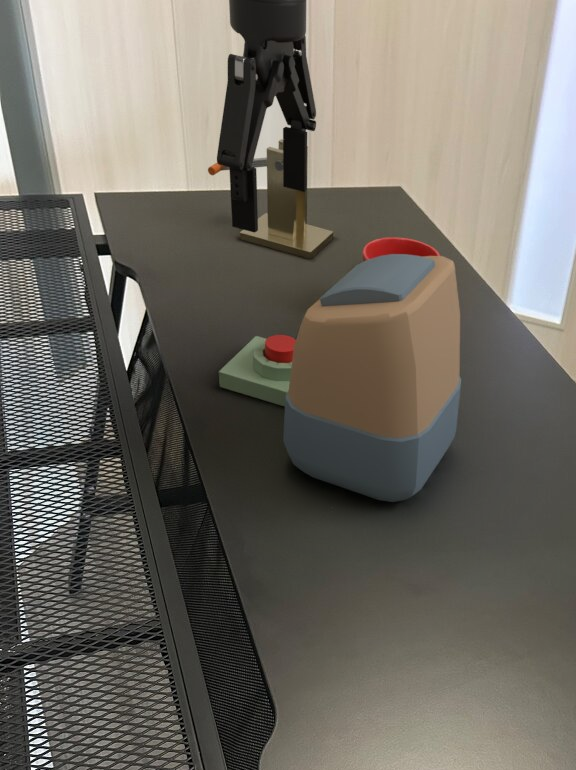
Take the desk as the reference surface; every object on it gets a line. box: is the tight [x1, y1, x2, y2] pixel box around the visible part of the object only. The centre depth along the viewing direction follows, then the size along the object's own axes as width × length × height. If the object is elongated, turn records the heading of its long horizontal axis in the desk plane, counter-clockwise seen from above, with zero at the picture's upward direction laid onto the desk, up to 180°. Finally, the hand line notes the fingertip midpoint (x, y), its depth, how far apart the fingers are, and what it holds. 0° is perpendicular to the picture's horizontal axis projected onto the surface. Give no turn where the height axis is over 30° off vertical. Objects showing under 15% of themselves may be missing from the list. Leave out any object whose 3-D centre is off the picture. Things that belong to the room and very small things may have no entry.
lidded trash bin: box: [282, 254, 462, 503], centre depth 91 cm, size 17×17×23 cm
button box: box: [218, 335, 292, 408], centre depth 107 cm, size 12×10×4 cm
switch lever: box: [207, 157, 267, 176], centre depth 130 cm, size 14×5×2 cm, turn 72°
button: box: [265, 334, 296, 363], centre depth 105 cm, size 4×4×2 cm
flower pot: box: [361, 236, 441, 262], centre depth 120 cm, size 11×11×10 cm
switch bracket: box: [239, 138, 334, 260], centre depth 132 cm, size 12×9×14 cm
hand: (271, 207), depth 98 cm, fingers open, 13 cm apart
